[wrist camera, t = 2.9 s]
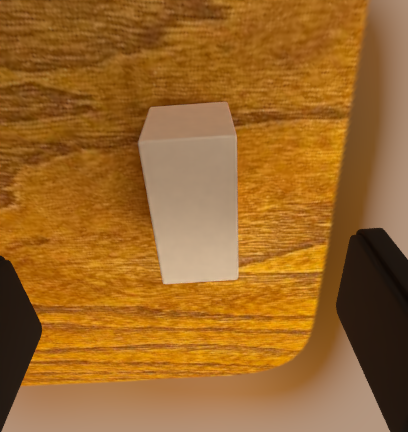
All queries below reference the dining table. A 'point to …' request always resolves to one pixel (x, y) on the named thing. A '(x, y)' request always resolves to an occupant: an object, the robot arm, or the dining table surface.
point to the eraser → (192, 190)
